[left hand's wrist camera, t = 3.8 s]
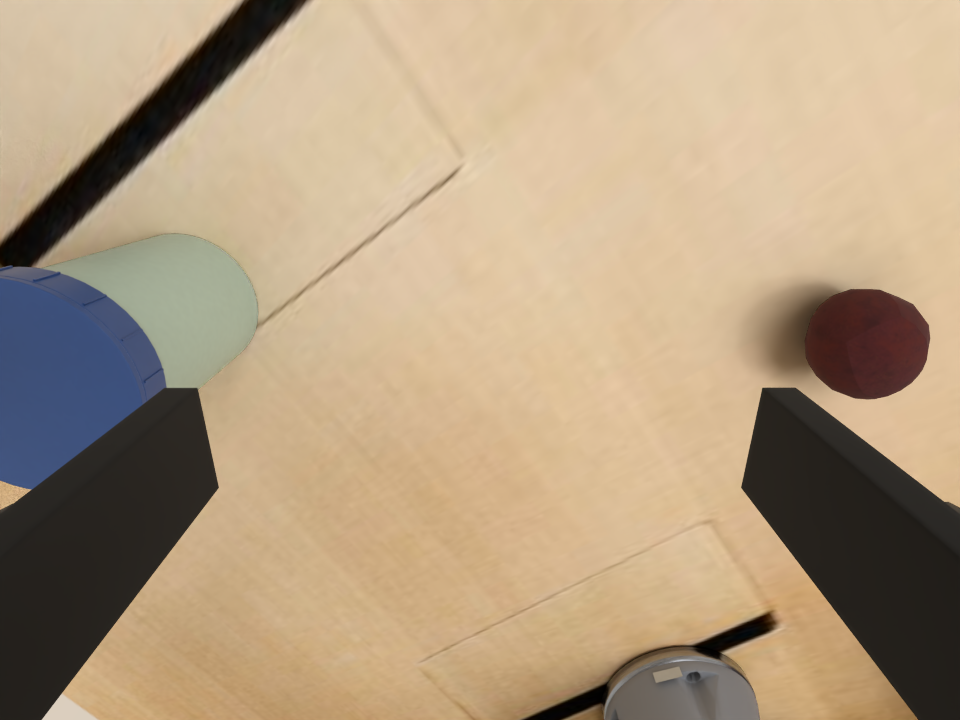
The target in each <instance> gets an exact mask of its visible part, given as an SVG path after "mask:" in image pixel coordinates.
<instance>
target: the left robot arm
mask: <svg viewBox="0 0 960 720" xmlns="http://www.w3.org/2000/svg"><path fill="white" fill-rule="evenodd" d="M218 488H219V487H218V482H217V477H216V473H215V468H214V463H213V458H212V454H211V449H210V444H209V440H208V435H207V430H206V426H205V421H204V416H203V411H202V407H201V402H200V397H199V393H198V388H164V389H162V390H161V391H160V392H158V393H157V394H156V395H154V396H153V397H152V398H151V399H149V400H148V401H147V402H145V403H144V404H143V405H141V406H140V407H139V408H138V409H136V410H135V411H134V412H132V413H131V414H130V415H128V416H127V417H126V418H125V419H123V420H122V421H121V422H119V423H118V424H117V425H115V426H114V427H113V428H111V429H110V430H109V431H108V432H106V433H105V434H104V435H102V436H101V437H100V438H98V439H97V440H96V441H95V442H93V443H92V444H91V445H89V446H88V447H87V448H85V449H84V450H83V451H82V452H80V453H79V454H78V455H76V456H75V457H74V458H72V459H71V460H70V461H69V462H67V463H66V464H65V465H63V466H62V467H61V468H59V469H58V470H57V471H55V472H54V473H53V474H52V475H50V476H49V477H48V478H46V479H45V480H44V481H42V482H41V483H40V484H39V485H37V486H36V487H35V488H33V489H32V490H31V491H29V492H28V493H27V494H26V495H24V496H23V497H22V498H20V499H19V500H18V501H16V502H15V503H14V504H11V505H9V506H7V507H5V508H3V509H1V510H0V720H42V718H43V717H44V716H45V714H46V713H47V712H48V711H49V709H50V708H51V707H52V705H53V704H54V703H55V701H56V700H57V699H58V698H59V696H60V695H61V694H62V692H63V691H64V690H65V688H66V687H67V686H68V684H69V683H70V682H71V681H72V679H73V678H74V677H75V675H76V674H77V673H78V671H79V670H80V669H81V667H82V666H83V665H84V663H85V662H86V661H87V660H88V658H89V657H90V656H91V654H92V653H93V652H94V650H95V649H96V648H97V646H98V645H99V644H100V643H101V641H102V640H103V639H104V637H105V636H106V635H107V633H108V632H109V631H110V629H111V628H112V627H113V626H114V624H115V623H116V622H117V620H118V619H119V618H120V616H121V615H122V614H123V612H124V611H125V610H126V608H127V607H128V606H129V605H130V603H131V602H132V601H133V599H134V598H135V597H136V595H137V594H138V593H139V591H140V590H141V589H142V588H143V586H144V585H145V584H146V582H147V581H148V580H149V578H150V577H151V576H152V574H153V573H154V572H155V571H156V569H157V568H158V567H159V565H160V564H161V563H162V561H163V560H164V559H165V557H166V556H167V555H168V553H169V552H170V551H171V550H172V548H173V547H174V546H175V544H176V543H177V542H178V540H179V539H180V538H181V536H182V535H183V534H184V533H185V531H186V530H187V529H188V527H189V526H190V525H191V523H192V522H193V521H194V519H195V518H196V517H197V516H198V514H199V513H200V512H201V510H202V509H203V508H204V506H205V505H206V504H207V502H208V501H209V500H210V498H211V497H212V496H213V495H214V493H215V492H216V491H217V489H218ZM741 488H742V489H743V491H744V492H745V493H746V495H747V496H748V497H749V498H750V500H751V501H752V502H753V504H754V505H755V506H756V508H757V509H758V510H759V512H760V513H761V514H762V516H763V517H764V518H765V519H766V521H767V522H768V523H769V525H770V526H771V527H772V529H773V530H774V531H775V533H776V534H777V535H778V536H779V538H780V539H781V540H782V542H783V543H784V544H785V546H786V547H787V548H788V550H789V551H790V552H791V553H792V555H793V556H794V557H795V559H796V560H797V561H798V563H799V564H800V565H801V567H802V568H803V569H804V571H805V572H806V573H807V574H808V576H809V577H810V578H811V580H812V581H813V582H814V584H815V585H816V586H817V588H818V589H819V590H820V591H821V593H822V594H823V595H824V597H825V598H826V599H827V601H828V602H829V603H830V605H831V606H832V607H833V608H834V610H835V611H836V612H837V614H838V615H839V616H840V618H841V619H842V620H843V622H844V623H845V624H846V626H847V627H848V628H849V629H850V631H851V632H852V633H853V635H854V636H855V637H856V639H857V640H858V641H859V643H860V644H861V645H862V646H863V648H864V649H865V650H866V652H867V653H868V654H869V656H870V657H871V658H872V660H873V661H874V662H875V663H876V665H877V666H878V667H879V669H880V670H881V671H882V673H883V674H884V675H885V677H886V678H887V679H888V681H889V682H890V683H891V684H892V686H893V687H894V688H895V690H896V691H897V692H898V694H899V695H900V696H901V698H902V699H903V700H904V701H905V703H906V704H907V705H908V707H909V708H910V709H911V711H912V712H913V713H914V715H915V716H916V717H917V719H918V720H960V508H959V507H957V506H955V505H953V504H951V503H949V502H944V501H942V500H941V499H940V498H938V497H937V496H936V495H934V494H933V493H932V492H931V491H929V490H928V489H927V488H925V487H924V486H923V485H921V484H920V483H919V482H918V481H916V480H915V479H914V478H912V477H911V476H910V475H908V474H907V473H906V472H905V471H903V470H902V469H901V468H899V467H898V466H897V465H895V464H894V463H893V462H891V461H890V460H889V459H888V458H886V457H885V456H884V455H882V454H881V453H880V452H878V451H877V450H876V449H875V448H873V447H872V446H871V445H869V444H868V443H867V442H865V441H864V440H863V439H862V438H860V437H859V436H858V435H856V434H855V433H854V432H852V431H851V430H850V429H849V428H847V427H846V426H845V425H843V424H842V423H841V422H839V421H838V420H837V419H835V418H834V417H833V416H832V415H830V414H829V413H828V412H826V411H825V410H824V409H822V408H821V407H820V406H819V405H817V404H816V403H815V402H813V401H812V400H811V399H809V398H808V397H807V396H806V395H804V394H803V393H802V392H800V391H799V390H798V389H796V388H762V393H761V397H760V402H759V407H758V411H757V416H756V421H755V426H754V430H753V435H752V440H751V444H750V449H749V454H748V458H747V463H746V468H745V472H744V477H743V482H742V487H741Z"/></svg>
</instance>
